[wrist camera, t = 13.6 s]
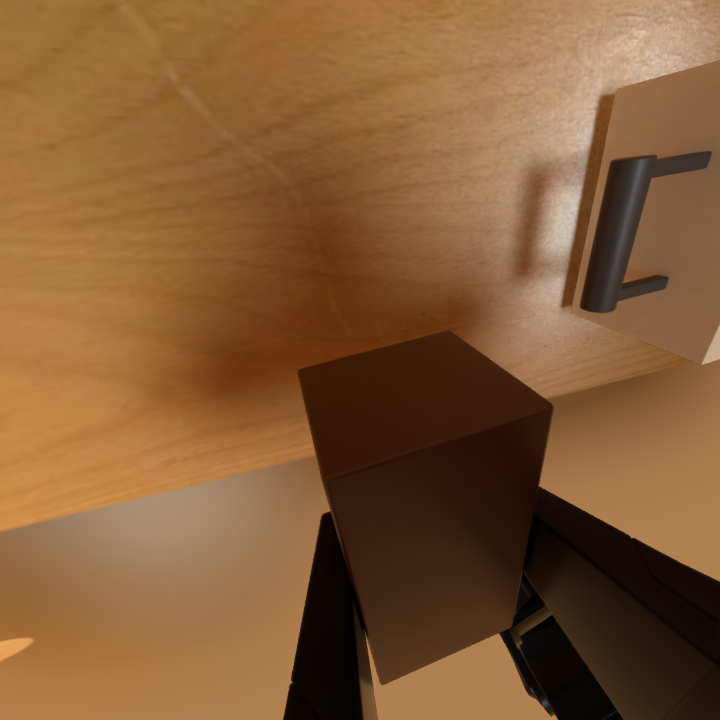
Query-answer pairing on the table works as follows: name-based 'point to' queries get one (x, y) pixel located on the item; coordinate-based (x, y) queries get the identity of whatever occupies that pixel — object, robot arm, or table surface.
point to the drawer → (658, 217)
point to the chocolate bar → (428, 490)
